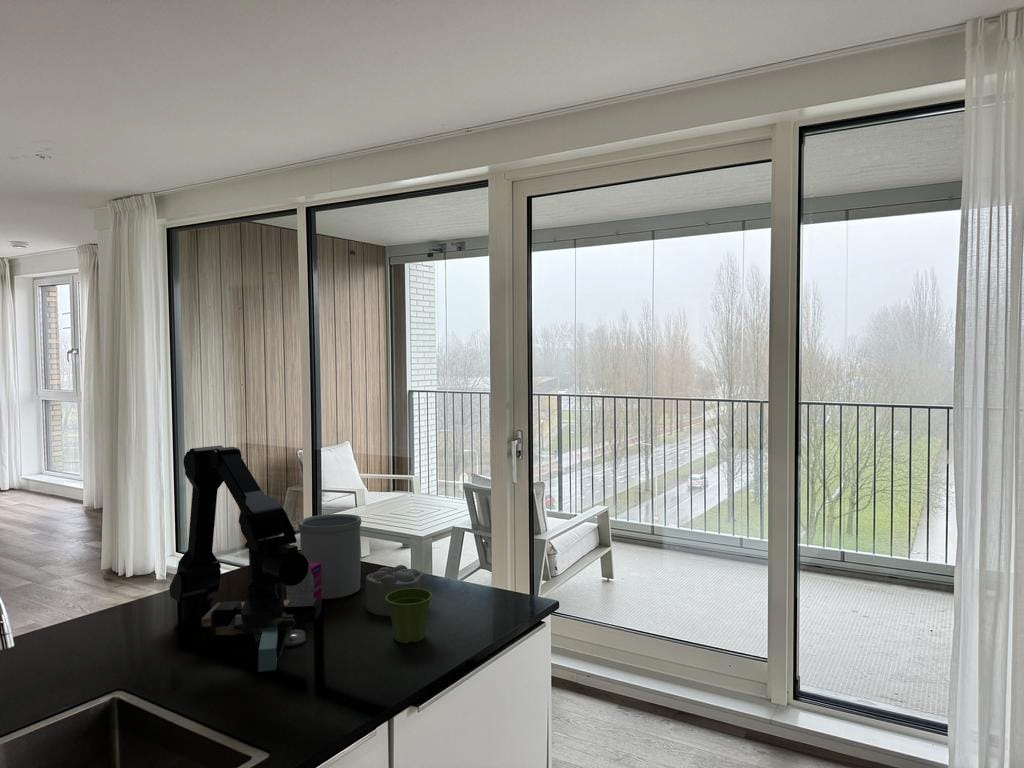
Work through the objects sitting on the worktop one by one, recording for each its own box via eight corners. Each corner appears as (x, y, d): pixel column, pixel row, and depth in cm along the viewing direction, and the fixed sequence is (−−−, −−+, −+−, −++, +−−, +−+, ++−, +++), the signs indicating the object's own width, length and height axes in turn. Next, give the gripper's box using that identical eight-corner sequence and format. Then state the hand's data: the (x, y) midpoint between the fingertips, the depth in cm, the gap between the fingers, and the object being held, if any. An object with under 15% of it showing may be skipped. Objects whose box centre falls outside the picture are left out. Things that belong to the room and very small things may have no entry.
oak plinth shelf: (202, 651, 135) (201, 619, 135) (218, 633, 144) (217, 602, 144) (281, 648, 137) (280, 615, 136) (291, 630, 146) (290, 599, 145)
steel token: (276, 648, 137) (276, 640, 137) (282, 637, 142) (282, 630, 142) (302, 646, 138) (302, 638, 138) (307, 636, 143) (307, 628, 143)
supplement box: (310, 621, 150) (309, 569, 150) (285, 620, 151) (284, 568, 151) (323, 612, 156) (321, 561, 155) (299, 610, 157) (297, 560, 157)
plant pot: (441, 632, 143) (440, 591, 143) (416, 650, 134) (415, 606, 134) (403, 626, 147) (402, 585, 147) (376, 643, 138) (375, 600, 138)
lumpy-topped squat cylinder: (413, 617, 152) (412, 578, 152) (358, 614, 155) (357, 575, 154) (428, 601, 162) (428, 564, 162) (376, 598, 165) (375, 562, 164)
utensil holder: (306, 582, 177) (304, 514, 177) (365, 579, 179) (363, 511, 178) (294, 602, 163) (292, 528, 162) (359, 598, 164) (357, 525, 164)
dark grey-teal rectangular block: (258, 671, 125) (258, 649, 125) (264, 637, 142) (264, 617, 142) (275, 670, 126) (276, 648, 126) (280, 635, 143) (280, 616, 143)
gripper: (197, 590, 120) (200, 680, 120) (308, 586, 121) (310, 674, 122) (219, 571, 131) (222, 653, 131) (320, 567, 132) (322, 648, 133)
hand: (268, 657), depth 129 cm, fingers closed on dark grey-teal rectangular block, 3 cm apart
